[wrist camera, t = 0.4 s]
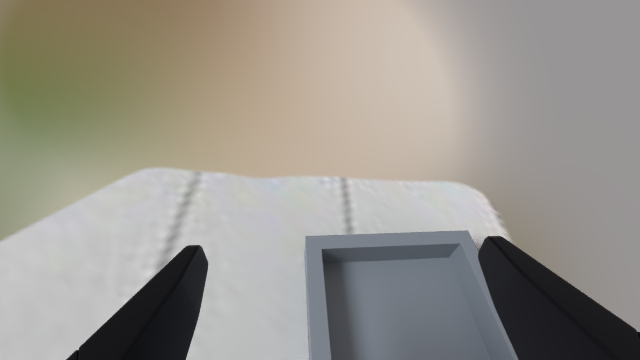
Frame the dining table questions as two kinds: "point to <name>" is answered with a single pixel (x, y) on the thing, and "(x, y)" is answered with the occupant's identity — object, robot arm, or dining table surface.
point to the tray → (400, 299)
